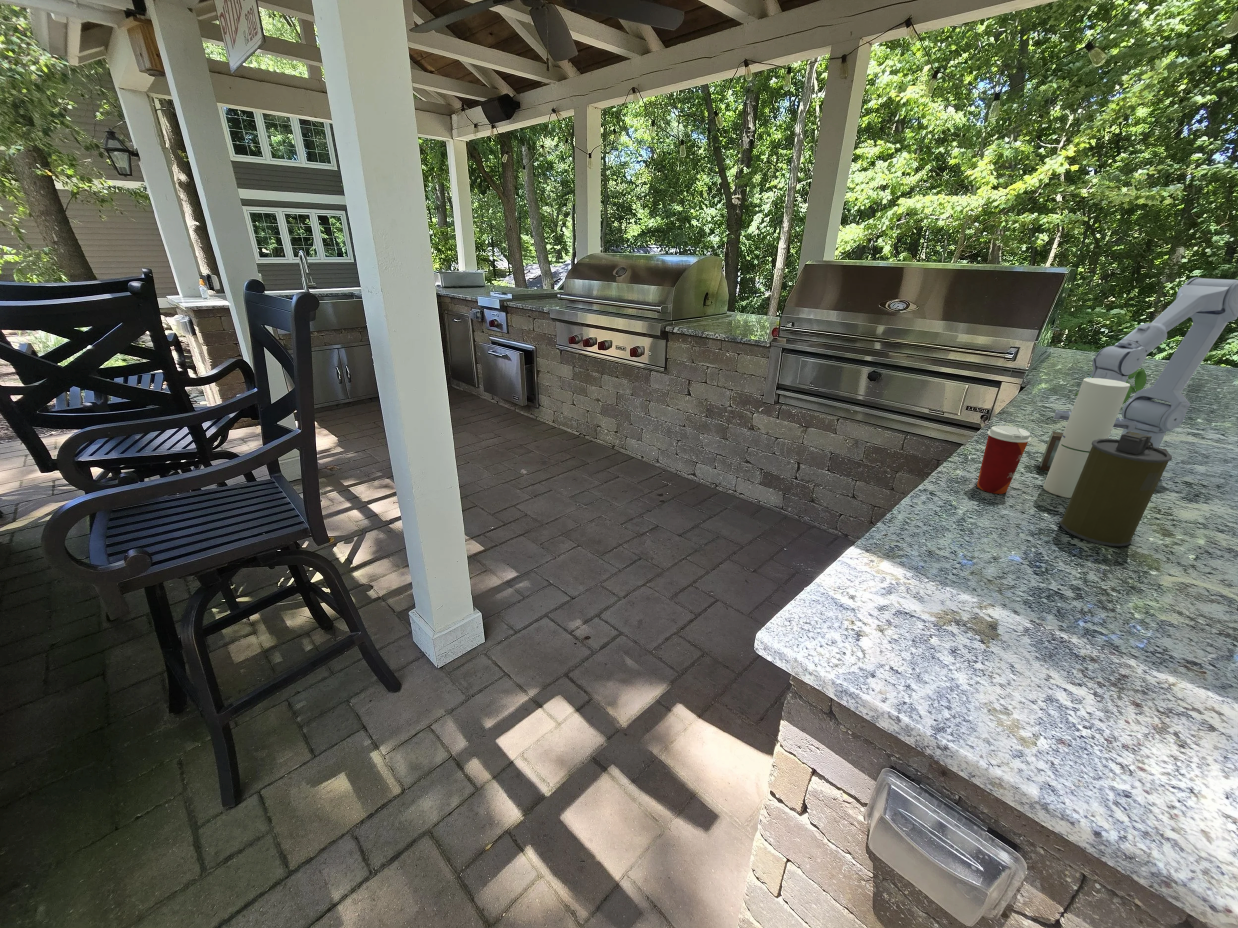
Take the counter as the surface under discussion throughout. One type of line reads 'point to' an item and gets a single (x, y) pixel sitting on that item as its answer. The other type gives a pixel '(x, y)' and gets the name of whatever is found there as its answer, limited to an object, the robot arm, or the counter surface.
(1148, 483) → the canister
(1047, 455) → the window frame
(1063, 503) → the counter surface
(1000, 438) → the paper cup
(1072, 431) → the cylindrical container
